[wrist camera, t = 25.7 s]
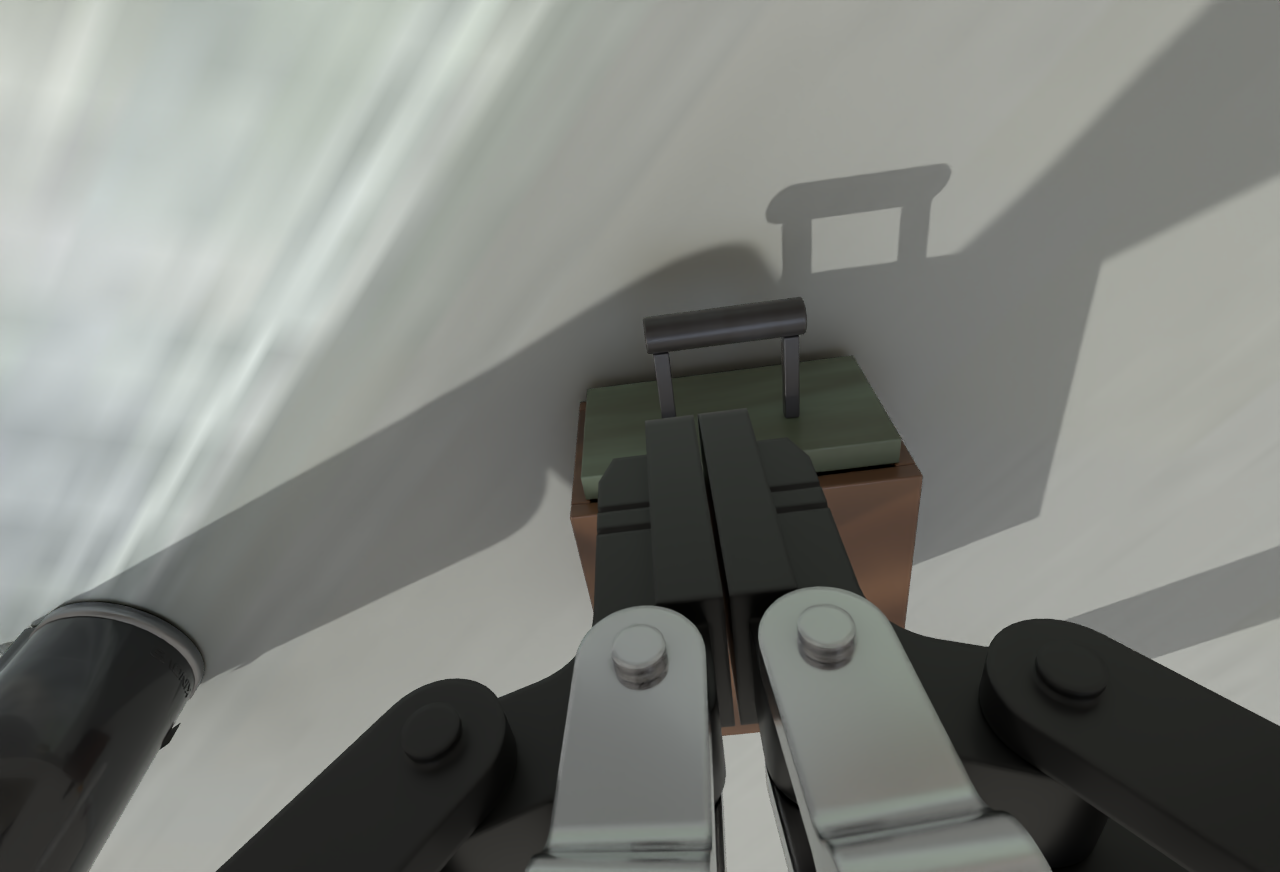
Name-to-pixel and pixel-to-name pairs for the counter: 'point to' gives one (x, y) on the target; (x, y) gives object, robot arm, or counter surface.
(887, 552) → the cabinet
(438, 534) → the counter surface
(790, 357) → the drawer
